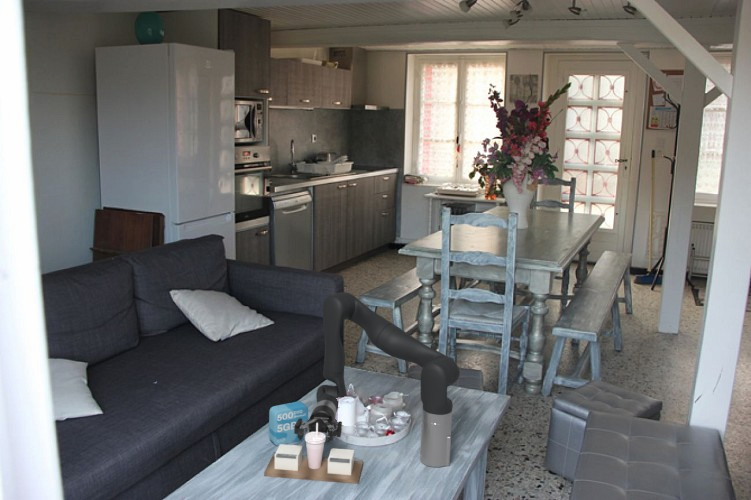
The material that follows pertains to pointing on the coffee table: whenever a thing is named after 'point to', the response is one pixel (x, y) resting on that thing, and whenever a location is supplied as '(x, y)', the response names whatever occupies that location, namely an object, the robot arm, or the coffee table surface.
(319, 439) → the smoothie
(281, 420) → the data package
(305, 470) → the rail board
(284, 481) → the coffee table surface
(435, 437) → the robot arm
